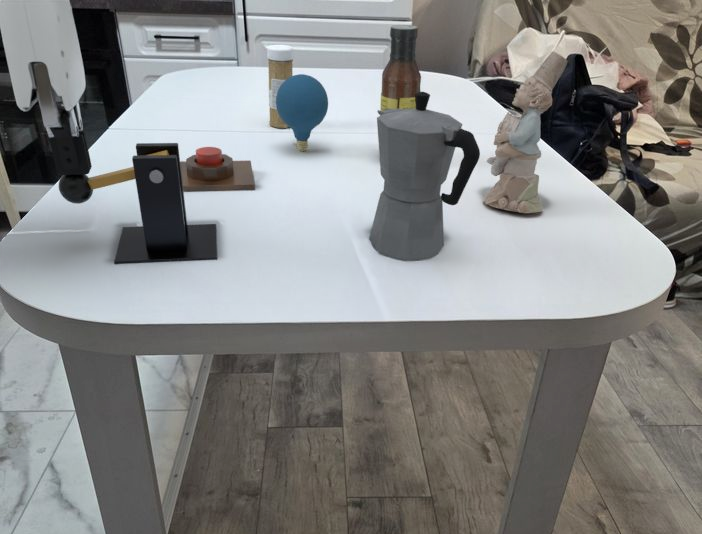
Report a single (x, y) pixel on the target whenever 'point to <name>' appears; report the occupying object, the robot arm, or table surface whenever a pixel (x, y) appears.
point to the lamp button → (209, 156)
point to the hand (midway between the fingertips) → (75, 171)
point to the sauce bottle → (401, 70)
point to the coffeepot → (417, 178)
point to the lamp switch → (163, 213)
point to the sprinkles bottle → (278, 77)
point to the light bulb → (302, 106)
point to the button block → (217, 175)
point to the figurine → (523, 142)
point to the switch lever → (93, 183)
